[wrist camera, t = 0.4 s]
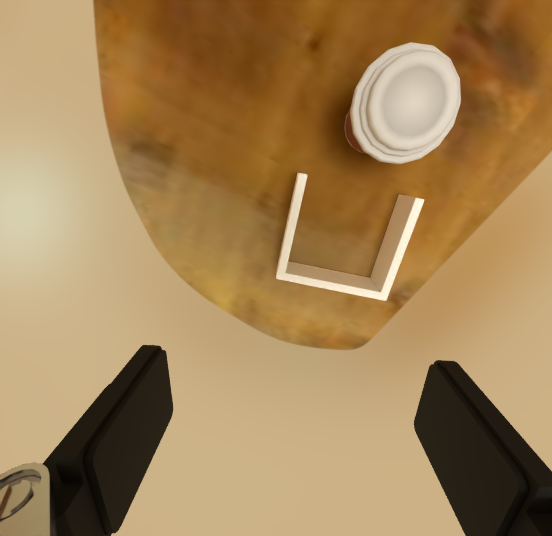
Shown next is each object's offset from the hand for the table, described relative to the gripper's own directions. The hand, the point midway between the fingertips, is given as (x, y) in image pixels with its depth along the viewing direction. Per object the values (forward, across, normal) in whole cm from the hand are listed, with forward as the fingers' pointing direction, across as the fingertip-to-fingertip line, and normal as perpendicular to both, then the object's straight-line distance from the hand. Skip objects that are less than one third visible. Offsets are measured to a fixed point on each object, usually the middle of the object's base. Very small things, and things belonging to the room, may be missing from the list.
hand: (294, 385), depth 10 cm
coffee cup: (+30, -9, -12) cm, 34 cm away
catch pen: (+30, -7, +1) cm, 30 cm away
